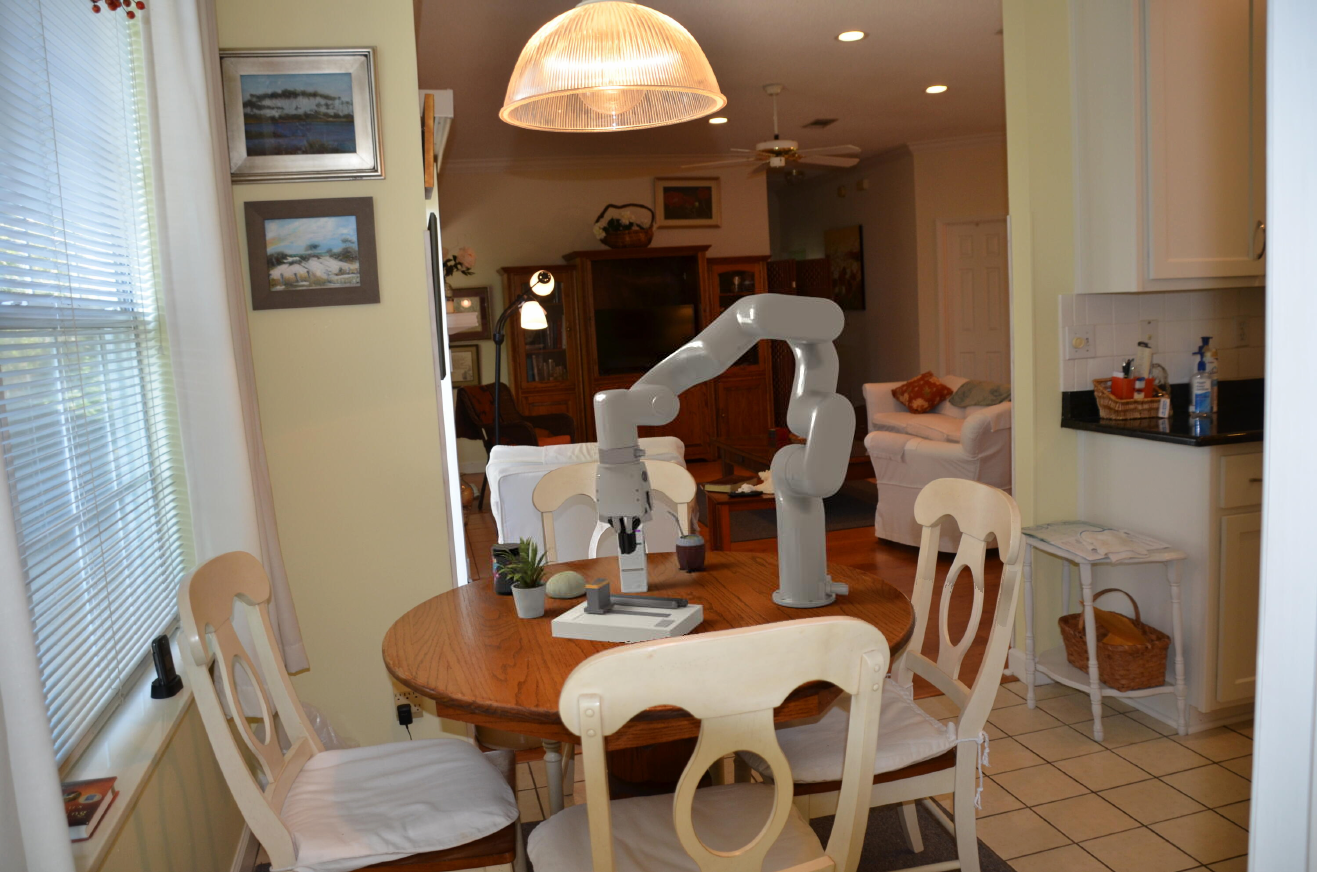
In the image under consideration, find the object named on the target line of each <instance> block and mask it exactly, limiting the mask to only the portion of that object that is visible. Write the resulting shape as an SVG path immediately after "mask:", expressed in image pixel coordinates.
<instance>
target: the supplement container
mask: <svg viewBox="0 0 1317 872" xmlns="http://www.w3.org/2000/svg"><path fill="white" fill-rule="evenodd" d="M519 544H520V542H519V543H518V542H504V543H498V544H496V545H492V546H491V558H492V566H493V567H492V569H493V583H494V592H495V594H497V595H499V594H500V595H499V596H513V591H512V587H511V586H512V585H513V584H515V583H518V582H519V581H518V580H517V579H516V580H515V581H514V576H512V577H510V578H508V579H507V577H508V575H511V574H510V573H509V572H508V571H507V570H505V571H502V572H500V573H498V572H499V571H501V570H502V569H505V568H503V567H502V566H504V567H505V566H509V565H514V564H513V563H512V562H511V561H510V560H509V559H508V558H507V557H505V556H508V555H506V554H509V555H511V554H512V555H513V556H514V558H515V559H516V560H517V562H518V563H519V564H520V563H522V562H521V559H520V554H519ZM499 545H501V546H503V547H505V548H506V549H508V550H509V552H510V553H511V554H510V553H509V552H508V551H506V549H505V548H503V547H501V546H499ZM504 549H505V550H504ZM495 552H501V553H495ZM504 553H506V554H504ZM501 555H505V556H501ZM508 557H509V556H508ZM509 558H511V557H509ZM511 559H512V558H511ZM512 560H513V559H512ZM513 561H514V560H513ZM514 563H515V564H516V565H517V563H516V562H515V561H514ZM499 565H502V566H499ZM506 568H507V569H511V570H514V571H515V572H516V573H518V574H520V573H519V572H518V570H517V569H516V568H508V567H506ZM511 570H509V571H510V572H512V573H514V574H516V573H515V572H514V571H511ZM519 570H520V572H521V573H522V571H521V569H519ZM522 574H523V573H522Z"/></svg>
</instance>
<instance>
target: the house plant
mask: <svg viewBox="0 0 1317 872" xmlns="http://www.w3.org/2000/svg"><path fill="white" fill-rule="evenodd" d="M532 538H533V536H531V537H530V536H529V537H527V538H526V540H524V539H523V537H522V536H519V543H520V544H519V554H520V559H521V562H522V563H520V564H519V563H518V562H517V560H516V559H515V558H514V556H513V555H512V554H511V553H510V552H509V550H508V549H506V548H505V547H503V546H501V545H499V546H501V547H503V548H505V549H506V551H508V552H509V553H510V554H511V555H509V554H506V553H504V554H506V555H508V556H509V557H511V558H512V559H513V560H514V561H515V562H516V563H517V565H516V564H515V563H514V561H513V560H512V559H511V558H509V557H508V556H505V555H501V556H505V557H507V558H508V559H509V560H510V561H511V562H512V563H513V564H514V565H509V566H505V567H504V566H502V565H499V566H502V567H503V568H505V569H502V570H501V571H499V572H498V573H500V572H502V571H505V570H507V571H508V572H509V573H510V574H511V575H508V577H507V579H508V578H510V577H512V576H514V581H515V580H516V579H517V580H518V581H519V582H518V583H515V584H513V585H512V586H511V587H512V591H513V595H512V596H513V598H514V604H515V607H516V612H517V615H518V617H519V618H520V619H533V618H534V619H535V618H539V617H541V616H544V614H545V606H546V605H545V604H546V594H547V593H546V585H547V582H546V581H544V580H542V579H543V578H544V576H546V575H547V574H553V571H550V572H545V573H544V571H545V568H544V566H546V565H547V564H548V563H553V562H555V563H556V561H554V560H550V561H546V562H544V563H543V564H542V562H543V560H544V558H545V556H546V554H547V553H548V552H549V551H550V550H551V546H549V547H548V549H547V550H546V551H545V552H543V553H542V555H541V556H540V557H539V558H538V560H537V556H538V551H539V549H538V542H535V543H534V540H533V539H532ZM494 545H497V544H495V543H494V544H492V546H494ZM505 549H504V550H505ZM552 549H554V547H552ZM495 553H501V552H495ZM541 564H542V565H541ZM506 567H508V568H516V569H517V570H518V572H519V573H520V574H518V573H516V572H515V571H514V570H511V569H507V568H506ZM519 569H521V571H522V573H523V574H522V573H521V572H520V570H519ZM509 570H511V571H514V572H515V573H516V574H514V573H512V572H510V571H509Z"/></svg>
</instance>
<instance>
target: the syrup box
mask: <svg viewBox="0 0 1317 872" xmlns="http://www.w3.org/2000/svg"><path fill="white" fill-rule="evenodd" d="M645 534H646V533H645V523H642V524H641V525H640V526H639V527H638V529H637V530H636V542H637V547H636V550H635V551H634V552H633V553H631V554H621V549H620V548H619V542H618V541H617V549H618V551H617V552H618V564H619V575H620V576H619V577H620V590H621V593H623V594H624V593H626V594H630V593H632V594H633V593H635V594H637V593H646V592H648V588H649V578H648V577H649V576H648V561H647V550H646V549H647V547H646V535H645ZM616 535H617V536H616V538H617V540H618V533H616Z"/></svg>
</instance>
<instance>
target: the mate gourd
mask: <svg viewBox="0 0 1317 872" xmlns="http://www.w3.org/2000/svg"><path fill="white" fill-rule="evenodd" d="M666 512H667V513H668V514H670V515H671V517H673V519H674V521H675V522H676V525H677V528H678V530H679V532H680V536H679V537H678V538H677V540H676V542H675V544H676V545H675V554H676V557H677V558H676V559H677V562H678V564H679V567H678V570H679V571H685V570H687V571H685V573H689V574H691V573H692V572H695V571H694V570H699V571H698V572H705V571H704V570H705V568H704V567H705V563H706V562H705V561H706V552H707V548H706V542H705V540H704V538H703V536H701V535H699V534H684V531H683V529H682V526H681V524H680V520H679V518H678V517H677V516H676V515H675V514H674V513H672V512H671V511H669V510H666ZM690 572H691V573H690Z"/></svg>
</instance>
